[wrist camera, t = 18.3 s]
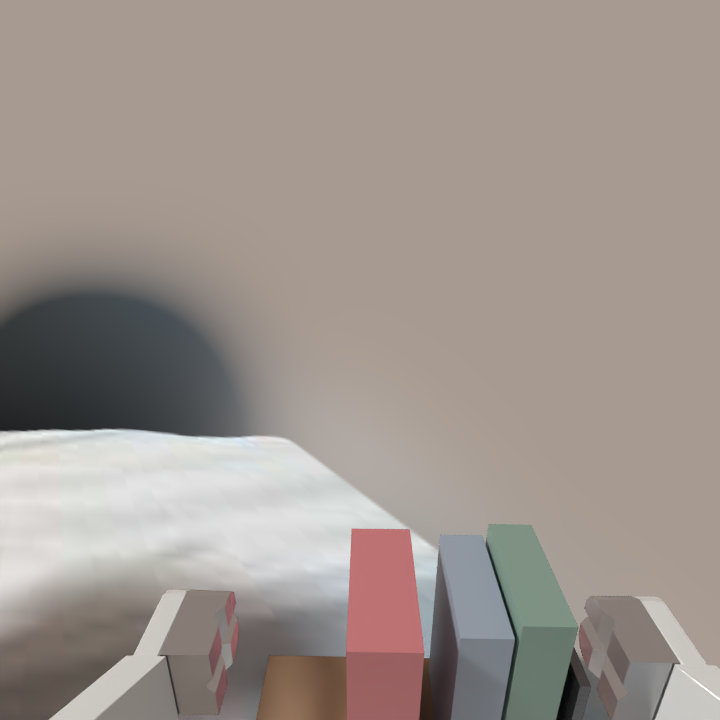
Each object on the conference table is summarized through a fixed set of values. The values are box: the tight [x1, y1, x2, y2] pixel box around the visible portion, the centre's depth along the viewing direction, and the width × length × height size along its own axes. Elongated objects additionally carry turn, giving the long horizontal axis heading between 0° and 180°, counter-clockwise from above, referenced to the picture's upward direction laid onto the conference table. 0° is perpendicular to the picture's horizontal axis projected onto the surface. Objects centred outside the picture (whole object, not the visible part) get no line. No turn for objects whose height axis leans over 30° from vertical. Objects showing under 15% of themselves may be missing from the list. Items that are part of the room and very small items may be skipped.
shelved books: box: [429, 524, 578, 720], centre depth 32 cm, size 6×8×15 cm
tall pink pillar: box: [346, 529, 424, 720], centre depth 31 cm, size 4×9×15 cm, turn 179°
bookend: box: [556, 647, 591, 720], centre depth 33 cm, size 1×9×11 cm, turn 179°
